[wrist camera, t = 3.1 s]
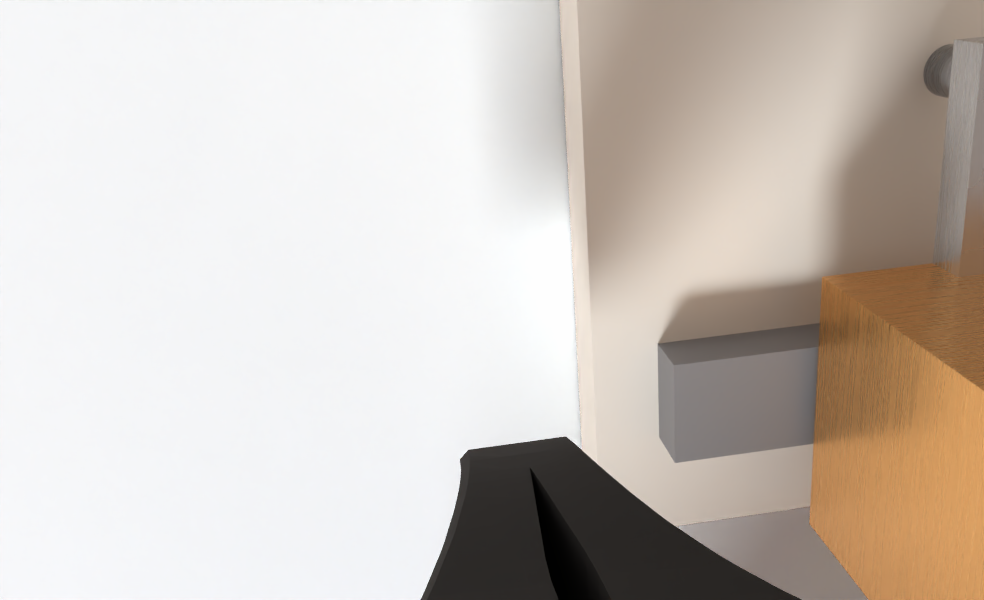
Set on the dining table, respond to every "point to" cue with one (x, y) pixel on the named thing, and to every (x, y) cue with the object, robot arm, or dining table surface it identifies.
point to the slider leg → (911, 385)
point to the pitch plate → (736, 222)
